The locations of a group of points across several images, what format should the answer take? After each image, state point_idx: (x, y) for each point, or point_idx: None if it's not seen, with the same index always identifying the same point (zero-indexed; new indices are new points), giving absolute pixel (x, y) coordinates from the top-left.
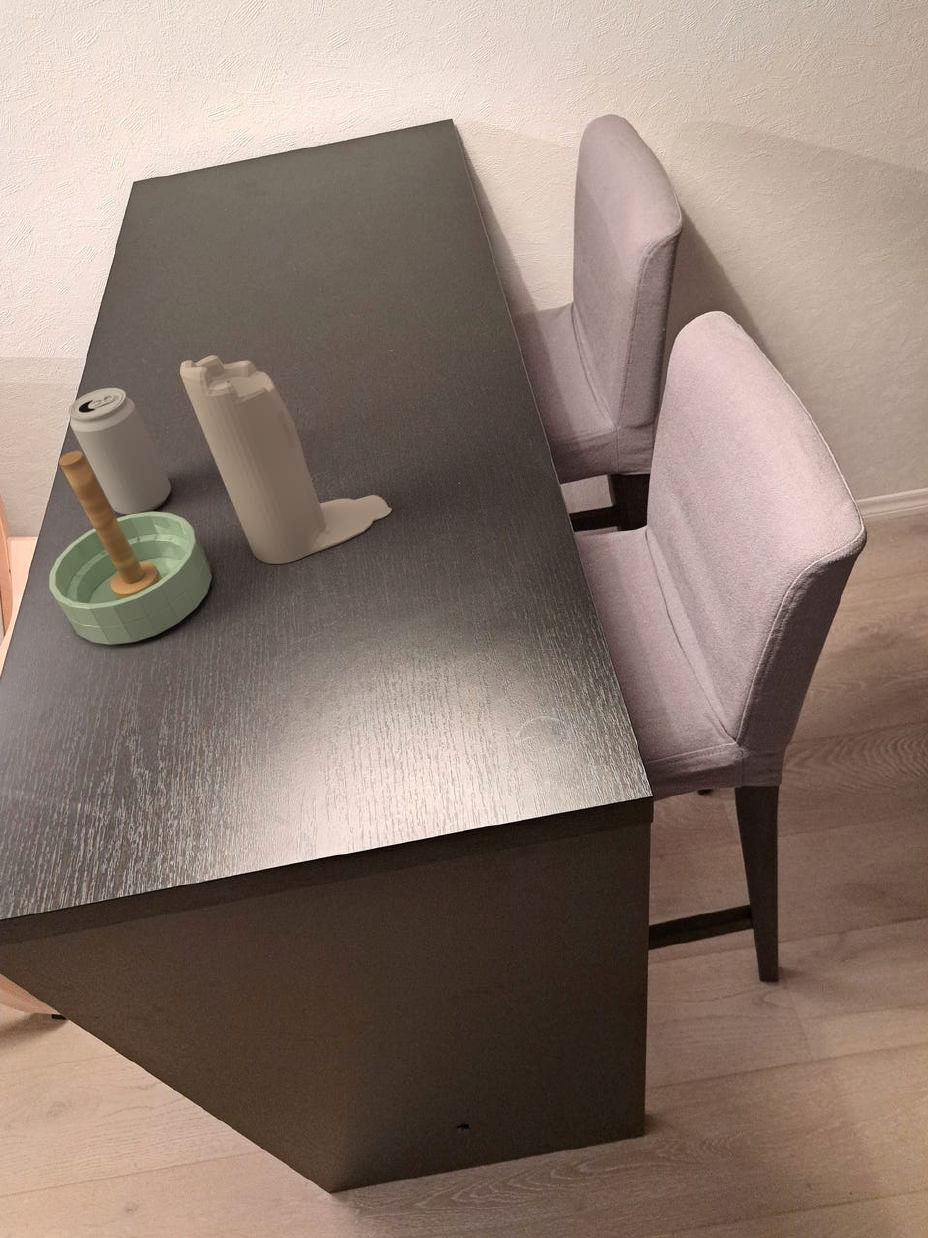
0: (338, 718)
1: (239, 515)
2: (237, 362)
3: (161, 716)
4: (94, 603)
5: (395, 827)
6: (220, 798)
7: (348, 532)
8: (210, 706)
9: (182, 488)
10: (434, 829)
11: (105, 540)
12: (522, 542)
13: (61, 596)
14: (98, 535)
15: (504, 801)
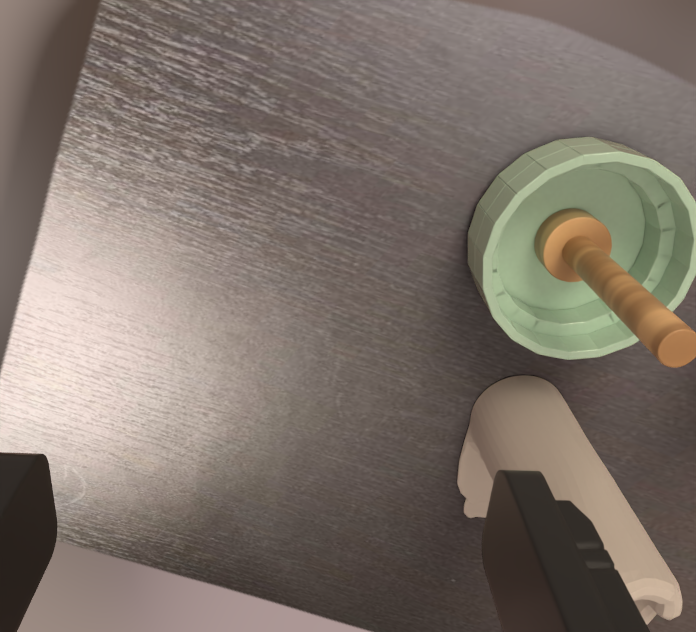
0: (193, 353)
1: (536, 415)
2: (646, 621)
3: (327, 191)
4: (604, 177)
5: (23, 343)
6: (155, 211)
7: (466, 471)
8: (303, 246)
9: None
10: (3, 370)
11: (599, 271)
12: (315, 581)
13: (581, 163)
14: (612, 268)
15: (4, 429)
